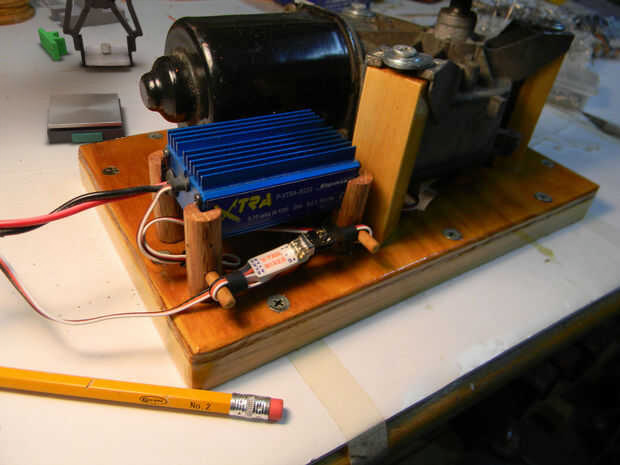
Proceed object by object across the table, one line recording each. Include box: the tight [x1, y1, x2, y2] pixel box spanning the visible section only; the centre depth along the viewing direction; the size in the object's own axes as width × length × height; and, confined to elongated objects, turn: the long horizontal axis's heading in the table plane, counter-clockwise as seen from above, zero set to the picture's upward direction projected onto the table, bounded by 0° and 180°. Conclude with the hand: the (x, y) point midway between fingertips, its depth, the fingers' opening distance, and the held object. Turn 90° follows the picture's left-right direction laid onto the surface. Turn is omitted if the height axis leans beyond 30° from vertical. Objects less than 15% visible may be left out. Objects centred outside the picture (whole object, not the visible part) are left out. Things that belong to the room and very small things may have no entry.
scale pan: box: [47, 92, 122, 129], centre depth 91 cm, size 12×12×1 cm
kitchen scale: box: [46, 98, 126, 144], centre depth 92 cm, size 13×14×3 cm
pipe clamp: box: [37, 27, 69, 61], centre depth 116 cm, size 11×4×5 cm, turn 39°
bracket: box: [49, 0, 127, 28], centre depth 134 cm, size 10×18×11 cm, turn 135°
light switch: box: [84, 42, 130, 67], centre depth 114 cm, size 10×10×5 cm
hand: (108, 64), depth 115 cm, fingers closed on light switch, 10 cm apart
